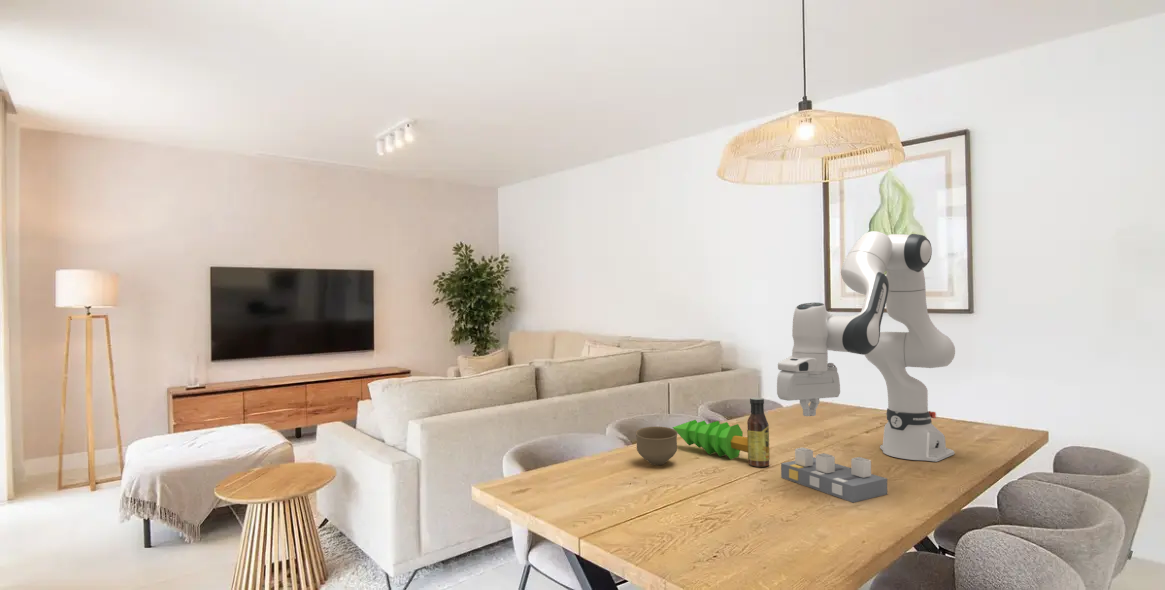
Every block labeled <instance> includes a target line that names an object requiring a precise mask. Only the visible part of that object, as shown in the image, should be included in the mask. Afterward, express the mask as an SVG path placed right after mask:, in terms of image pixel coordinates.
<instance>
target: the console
mask: <svg viewBox="0 0 1165 590" xmlns="http://www.w3.org/2000/svg"><path fill="white" fill-rule="evenodd" d="M780 466H781V468H780V478H782V479H785V480H788V481H790V482H793V483H796V484H798V485H801V486H804V487H808V488H811V489H812V490H816V491H819V492H822V493H824V494H828V495H830V496H833V497H836V498H839V499H842V500H844V501H847V502H851V503H853V504H854V503H857V502H861V501H866V500H871V499H873V498H877V497H882V496H886V495H888V478H887V477H883V476H879V475H876V474H873V473H871V476H869V477H865V478H862V477H859V476H856V475H852V474H851V467H849V466H845V465H842V464H838V463H835V472H831V473H824V472H821V471H818V470H816V456H815V457H814V456H813V465H812V466H807V467H805V466H801V465H798V464H795V460H792V461H787V462H782V463H780Z"/></svg>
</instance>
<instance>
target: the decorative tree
mask: <svg viewBox="0 0 1165 590" xmlns="http://www.w3.org/2000/svg"><path fill="white" fill-rule="evenodd" d="M671 429H674V430H676V431H677V433H678V434H677V435H679V436H680V438H682V440H683V441H684V442H685V443H686V444H687V445H688V446H691V445H695V446H696V447H697V448H699V449H700V448H702V449H703V450H704V451H705V452H706V453H707V454H708V455H709V456H710V455H712V454H717V455H718V456H719V457H720V458H721V457H723V456H725V455H726V457H728V459H730V460H733V459H736V458H738V457H739V455H740V453H741V452H745V453H747V454H748V438H747V436H743V433H744V432H743V430H742V429H741V427H740V425H739V424H738V423H737V424H734V425H731V426H730V424H729V423H728V421H726V422H723V423H720V421H719V420H716V421H713V422H710V423H709V422H708V423H707V422H706V421H705V420H702V421H697V420H696V419H693V420H689V421H686V422H684V423H681V424H678V425H675V426H673V427H672V428H671Z"/></svg>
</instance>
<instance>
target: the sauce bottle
mask: <svg viewBox="0 0 1165 590" xmlns="http://www.w3.org/2000/svg"><path fill="white" fill-rule="evenodd" d="M749 404H750V415H749V417H748V419H747V423H746V424H747V429H746V430H747V432H746V433H747V434H746V435H747V436H746V437H747V438H748V453H747V459H748V464H749V465H750V466H752V467H756V468H765V467H768V466H770V460H771V459H770V458H771V457H770V430H769V429H770V427H769V423H768V420H767V417H766V414H765V410H764V408H765V407H764V406H765V405H764V404H765V399H764V398H763V397H751V398H749Z"/></svg>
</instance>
